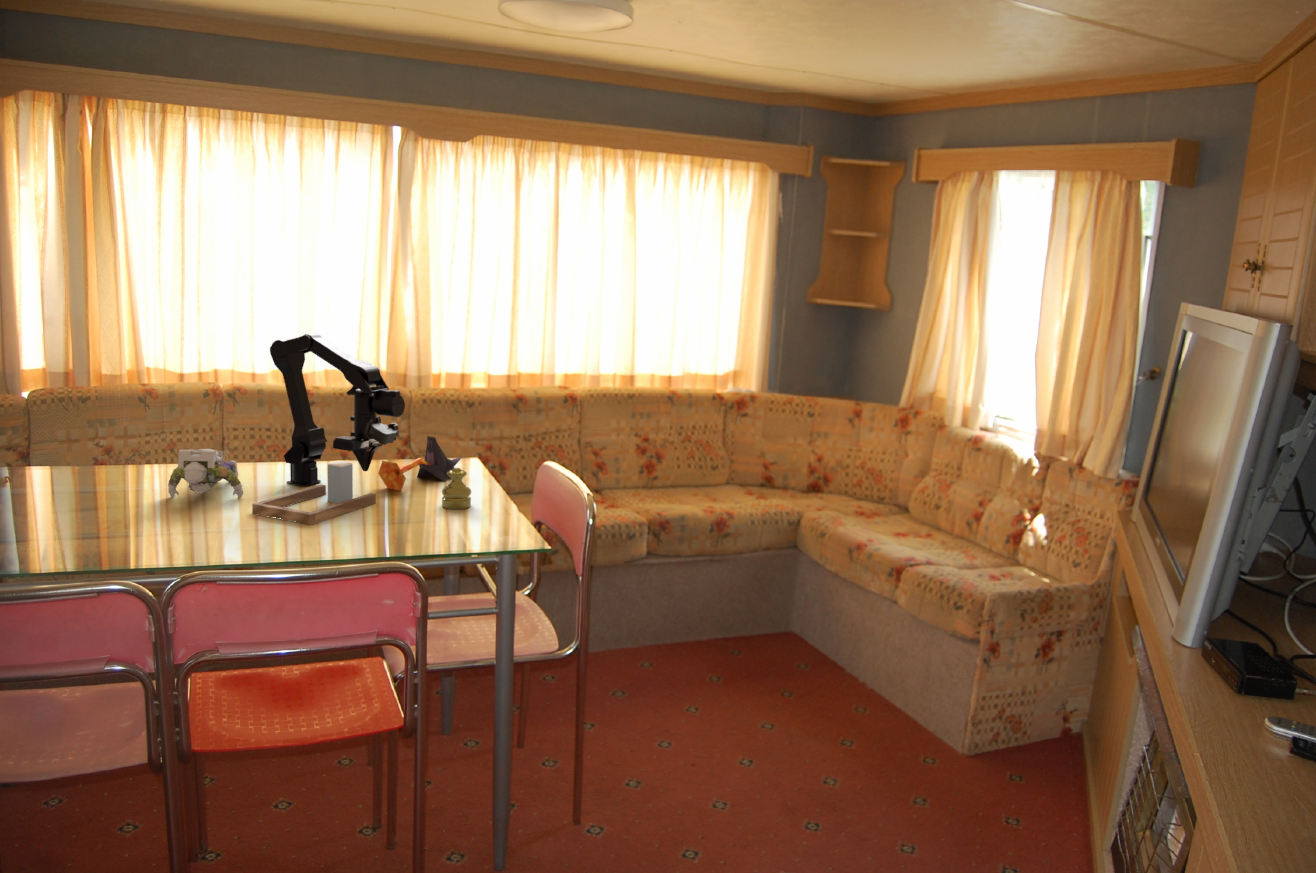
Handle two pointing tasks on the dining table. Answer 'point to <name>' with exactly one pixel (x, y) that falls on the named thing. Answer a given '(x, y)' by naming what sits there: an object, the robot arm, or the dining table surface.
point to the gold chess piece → (456, 491)
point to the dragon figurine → (431, 465)
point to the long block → (340, 481)
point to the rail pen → (276, 509)
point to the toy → (204, 471)
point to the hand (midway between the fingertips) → (365, 470)
